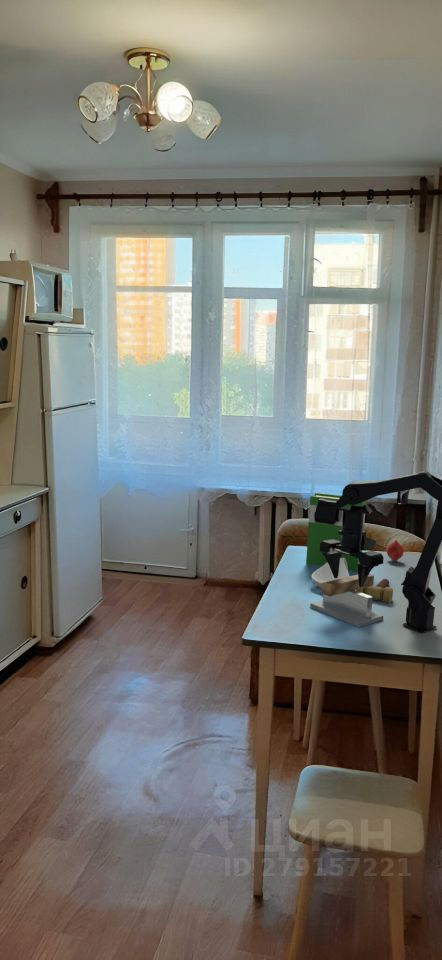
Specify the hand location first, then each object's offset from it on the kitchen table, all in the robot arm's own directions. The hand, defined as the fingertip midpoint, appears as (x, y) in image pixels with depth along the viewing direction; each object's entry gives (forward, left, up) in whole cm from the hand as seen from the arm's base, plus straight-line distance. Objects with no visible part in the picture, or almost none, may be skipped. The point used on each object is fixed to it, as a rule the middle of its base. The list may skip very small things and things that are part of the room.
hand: (348, 582), depth 197 cm
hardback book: (+35, -33, -9) cm, 49 cm away
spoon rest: (+21, -18, -10) cm, 30 cm away
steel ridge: (0, 0, -8) cm, 8 cm away
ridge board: (0, 0, -9) cm, 9 cm away
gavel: (+8, -24, -10) cm, 27 cm away
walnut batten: (0, 0, -2) cm, 2 cm away
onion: (+27, -56, -9) cm, 63 cm away
